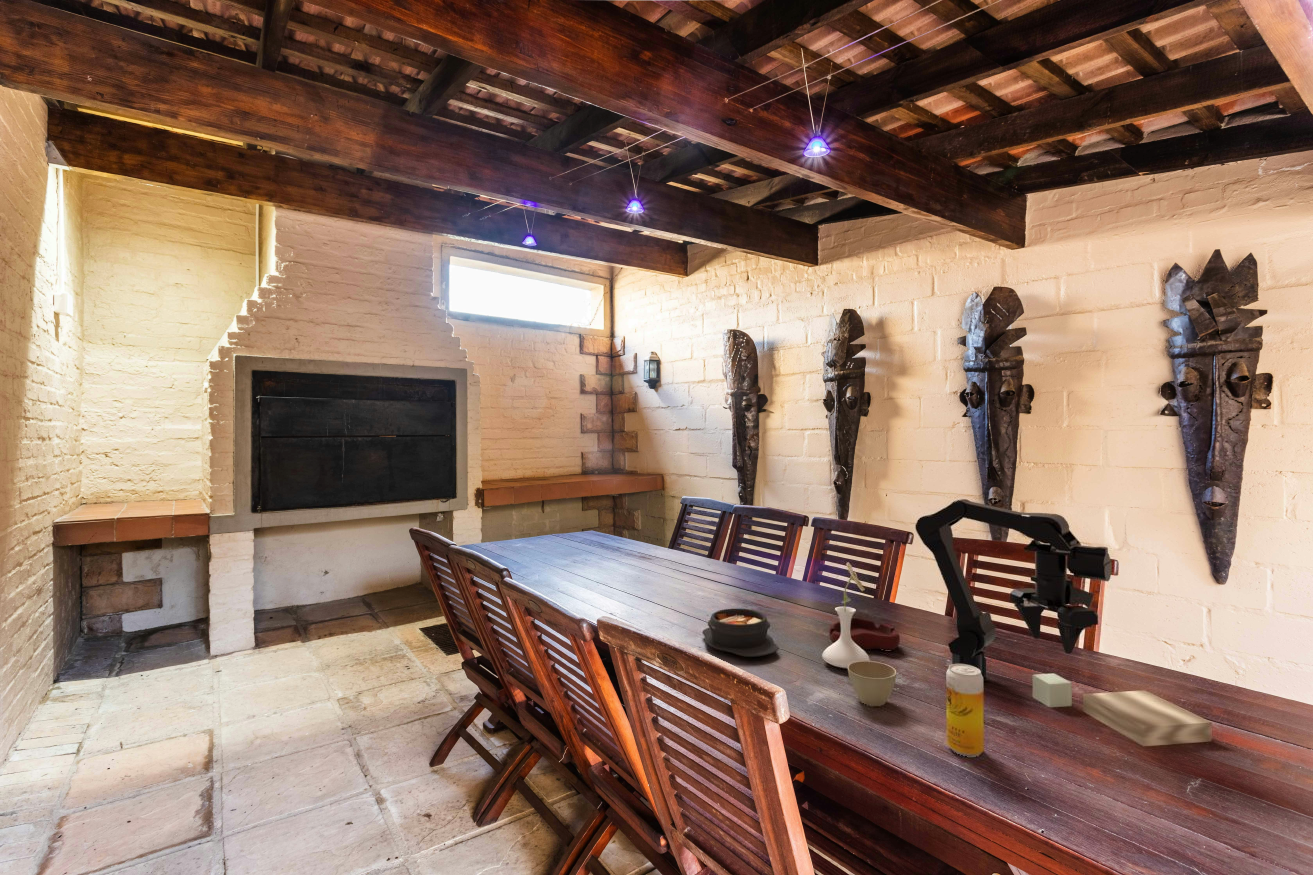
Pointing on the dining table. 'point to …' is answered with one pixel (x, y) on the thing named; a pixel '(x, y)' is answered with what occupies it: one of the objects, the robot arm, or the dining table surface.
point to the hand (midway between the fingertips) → (1051, 645)
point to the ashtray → (868, 634)
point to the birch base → (1147, 718)
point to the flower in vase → (845, 634)
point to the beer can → (965, 710)
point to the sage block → (1052, 690)
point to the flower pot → (872, 681)
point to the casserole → (740, 632)
